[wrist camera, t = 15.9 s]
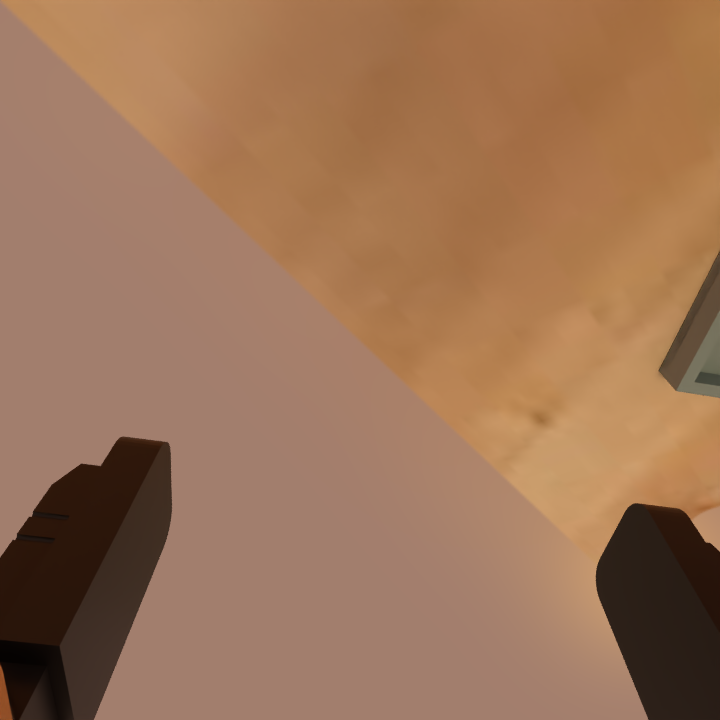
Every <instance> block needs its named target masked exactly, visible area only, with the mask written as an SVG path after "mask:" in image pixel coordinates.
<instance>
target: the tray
mask: <svg viewBox="0 0 720 720" xmlns="http://www.w3.org/2000/svg"><path fill="white" fill-rule="evenodd" d="M659 372H660V373H661V374H662V375H663V376H664V378H665V379H666V380H667V381H668V382H669V383H670V385H671V386H672V387H673V388H674V389H675V390H676V391H679V392H686V393H692V394H699V395H705V396H711V397H718V398H720V252H719V254H718V256H717V258H716V260H715V262H714V264H713V266H712V268H711V270H710V272H709V274H708V276H707V278H706V280H705V282H704V284H703V286H702V288H701V290H700V292H699V293H698V295H697V297H696V299H695V301H694V303H693V305H692V307H691V309H690V311H689V313H688V315H687V317H686V319H685V321H684V323H683V325H682V327H681V329H680V331H679V333H678V334H677V336H676V338H675V340H674V342H673V344H672V346H671V348H670V350H669V352H668V354H667V356H666V358H665V360H664V362H663V364H662V366H661V368H660V370H659Z"/></svg>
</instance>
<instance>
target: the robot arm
mask: <svg viewBox="0 0 720 720" xmlns="http://www.w3.org/2000/svg"><path fill="white" fill-rule="evenodd" d="M171 513H172V492H171V453H170V446H169V443H168V442H162V441H154V440H146V439H139V438H130V437H121V438H119V439H118V440H117V441H116V443H115V444H114V446H113V447H112V449H111V451H110V452H109V454H108V456H107V457H106V459H105V460H104V462H103V463H102V465H101V466H95V465H87V464H80V465H79V466H77V467H76V468H75V469H73V470H72V471H70V472H69V473H68V474H66V475H65V476H63V477H62V478H61V479H59V480H58V481H57V482H55V483H54V484H52V485H51V487H50V488H49V490H48V491H47V493H46V494H45V495H44V497H43V498H42V500H41V501H40V502H39V504H38V505H37V507H36V508H35V509H34V511H33V515H32V517H29V518H28V519H27V521H26V522H25V523H24V525H23V526H22V528H21V529H20V530H19V532H18V533H17V538H16V540H12V542H11V543H10V545H9V546H8V547H7V549H6V550H5V552H4V553H3V554H2V556H1V557H0V720H94V718H95V715H96V713H97V711H98V708H99V705H100V703H101V701H102V698H103V696H104V693H105V691H106V688H107V686H108V683H109V681H110V678H111V676H112V673H113V671H114V668H115V666H116V664H117V661H118V659H119V656H120V654H121V651H122V649H123V646H124V644H125V641H126V639H127V636H128V634H129V632H130V629H131V627H132V624H133V621H134V619H135V617H136V614H137V612H138V609H139V607H140V604H141V602H142V599H143V597H144V594H145V592H146V590H147V587H148V585H149V582H150V580H151V577H152V575H153V572H154V570H155V567H156V565H157V562H158V560H159V557H160V555H161V552H162V550H163V547H164V545H165V542H166V539H167V535H168V531H169V527H170V521H171ZM596 587H597V592H598V596H599V599H600V601H601V604H602V606H603V609H604V611H605V614H606V616H607V618H608V621H609V624H610V626H611V628H612V631H613V633H614V636H615V638H616V641H617V643H618V646H619V648H620V650H621V653H622V655H623V658H624V660H625V663H626V665H627V668H628V670H629V673H630V675H631V678H632V680H633V682H634V685H635V687H636V690H637V692H638V695H639V697H640V700H641V702H642V705H643V707H644V710H645V712H646V714H647V717H648V719H649V720H720V552H719V551H718V550H717V549H716V548H715V547H714V546H713V545H712V544H711V543H706V542H705V541H704V539H703V538H702V536H701V535H700V533H699V532H698V530H697V529H696V527H695V526H694V524H693V523H692V521H691V520H690V518H689V517H688V515H687V514H686V513H685V512H684V511H682V510H680V509H677V508H670V507H662V506H654V505H646V504H638V503H635V504H632V505H631V506H629V507H628V508H627V510H626V511H625V513H624V515H623V517H622V519H621V521H620V522H619V524H618V526H617V528H616V530H615V532H614V534H613V535H612V537H611V539H610V541H609V543H608V545H607V547H606V548H605V550H604V552H603V554H602V556H601V558H600V560H599V562H598V565H597V570H596Z"/></svg>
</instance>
